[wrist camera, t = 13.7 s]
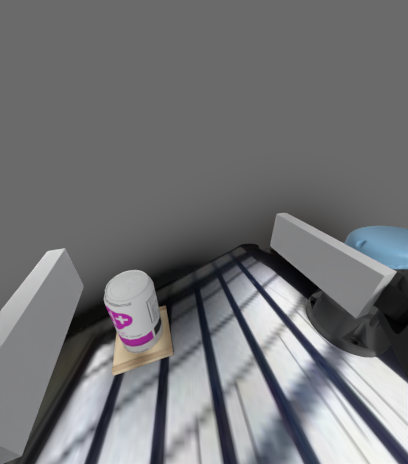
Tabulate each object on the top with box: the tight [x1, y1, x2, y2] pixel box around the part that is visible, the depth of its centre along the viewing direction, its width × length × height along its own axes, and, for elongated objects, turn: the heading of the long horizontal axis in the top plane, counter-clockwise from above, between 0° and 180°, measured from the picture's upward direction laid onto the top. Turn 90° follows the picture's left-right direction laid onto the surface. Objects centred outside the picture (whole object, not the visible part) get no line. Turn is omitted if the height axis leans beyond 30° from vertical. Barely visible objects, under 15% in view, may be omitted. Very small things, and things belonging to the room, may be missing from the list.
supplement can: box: [104, 270, 163, 354], centre depth 34 cm, size 8×8×15 cm
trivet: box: [112, 306, 174, 375], centre depth 38 cm, size 11×11×1 cm
